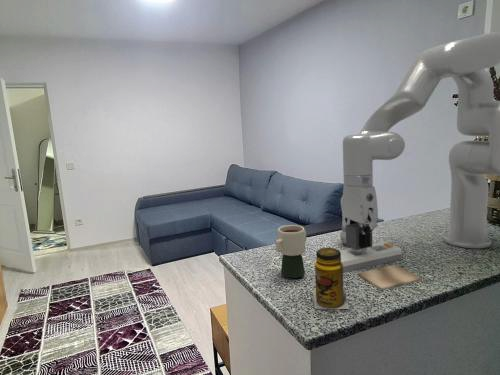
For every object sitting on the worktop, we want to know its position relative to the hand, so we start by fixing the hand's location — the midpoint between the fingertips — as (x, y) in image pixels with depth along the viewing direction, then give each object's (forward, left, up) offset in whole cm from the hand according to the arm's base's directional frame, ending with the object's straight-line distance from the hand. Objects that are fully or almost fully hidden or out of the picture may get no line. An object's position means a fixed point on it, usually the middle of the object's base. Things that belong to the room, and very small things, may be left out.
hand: (359, 243), depth 93 cm
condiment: (+18, +14, -6) cm, 24 cm away
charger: (0, 0, -2) cm, 2 cm away
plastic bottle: (-7, -13, -6) cm, 16 cm away
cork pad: (-1, +11, -6) cm, 12 cm away
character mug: (+20, -1, -6) cm, 21 cm away
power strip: (-2, 0, -6) cm, 6 cm away
